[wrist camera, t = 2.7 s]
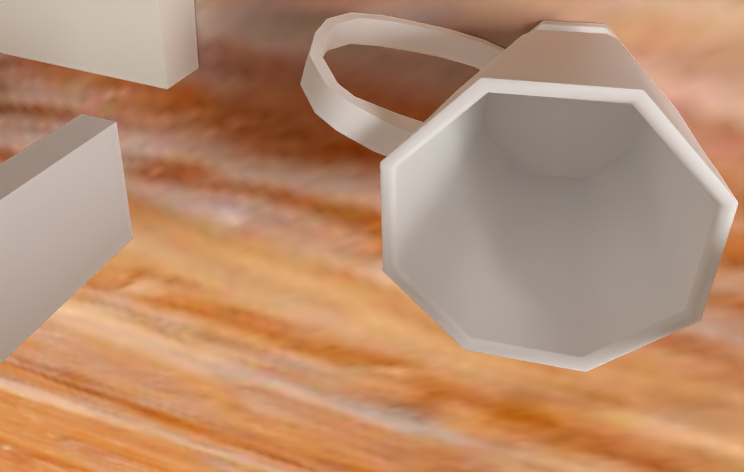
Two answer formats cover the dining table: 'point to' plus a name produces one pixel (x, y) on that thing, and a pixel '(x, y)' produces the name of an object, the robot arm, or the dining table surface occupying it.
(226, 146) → the dining table surface
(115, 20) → the flat u-shaped bracket
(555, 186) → the cup
